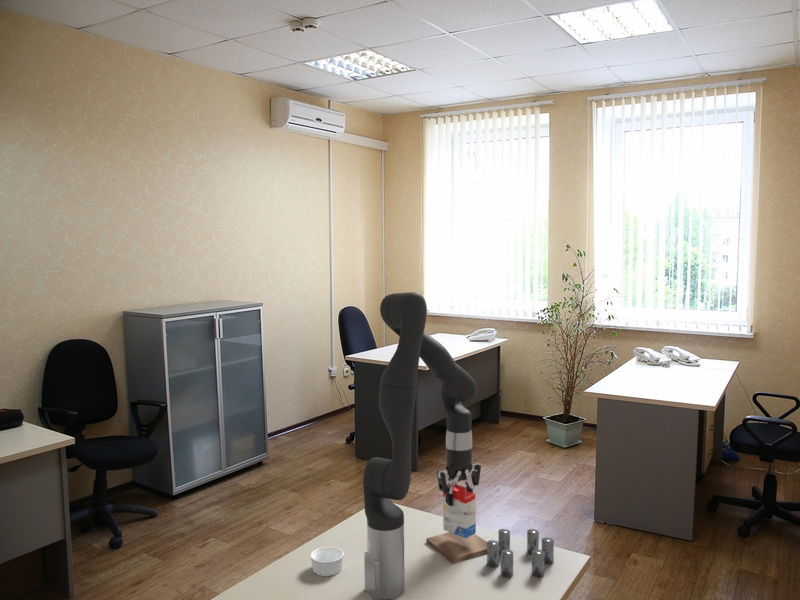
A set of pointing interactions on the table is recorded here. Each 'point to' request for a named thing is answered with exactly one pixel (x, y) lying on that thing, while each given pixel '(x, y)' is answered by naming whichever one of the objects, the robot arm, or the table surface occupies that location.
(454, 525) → the ink box
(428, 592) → the table surface
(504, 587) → the table surface
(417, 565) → the table surface
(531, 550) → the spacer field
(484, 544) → the walnut board
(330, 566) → the ramekin
